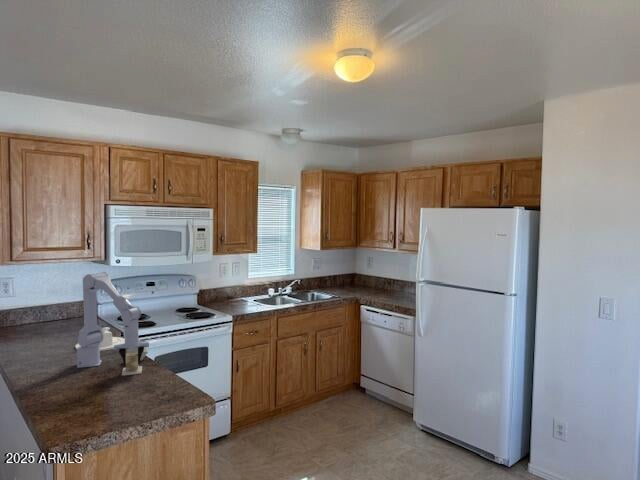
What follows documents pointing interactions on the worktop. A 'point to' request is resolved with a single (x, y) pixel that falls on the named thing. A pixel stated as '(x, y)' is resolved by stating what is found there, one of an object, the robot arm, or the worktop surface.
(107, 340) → the dish
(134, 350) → the die
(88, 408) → the worktop surface
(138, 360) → the robot arm
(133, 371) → the tray
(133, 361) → the maple block
